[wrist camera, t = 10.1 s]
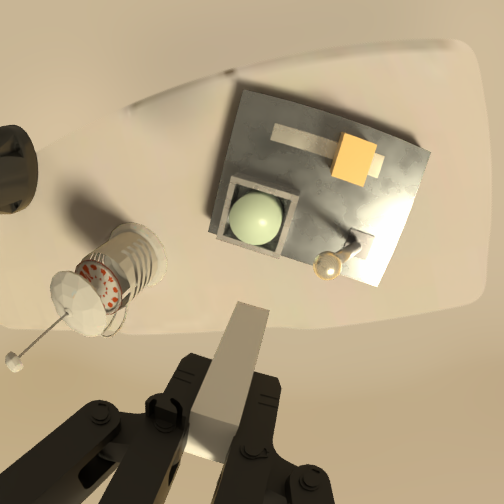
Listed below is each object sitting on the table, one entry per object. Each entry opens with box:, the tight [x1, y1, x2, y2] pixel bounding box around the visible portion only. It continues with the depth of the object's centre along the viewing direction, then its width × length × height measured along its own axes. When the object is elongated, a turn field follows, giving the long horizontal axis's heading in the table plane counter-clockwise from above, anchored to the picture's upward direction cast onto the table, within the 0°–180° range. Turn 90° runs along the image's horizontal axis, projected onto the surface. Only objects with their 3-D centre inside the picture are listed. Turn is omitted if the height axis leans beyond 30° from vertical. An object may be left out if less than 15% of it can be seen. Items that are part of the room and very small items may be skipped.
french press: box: [5, 222, 167, 372], centre depth 32 cm, size 10×12×25 cm
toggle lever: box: [313, 241, 361, 280], centre depth 29 cm, size 2×2×10 cm
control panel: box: [208, 89, 431, 287], centre depth 33 cm, size 20×16×6 cm
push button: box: [229, 189, 284, 245], centre depth 33 cm, size 5×5×3 cm
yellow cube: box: [330, 132, 377, 187], centre depth 28 cm, size 3×4×4 cm
